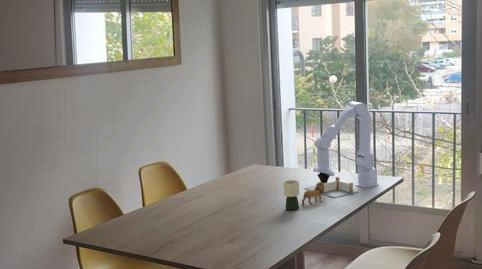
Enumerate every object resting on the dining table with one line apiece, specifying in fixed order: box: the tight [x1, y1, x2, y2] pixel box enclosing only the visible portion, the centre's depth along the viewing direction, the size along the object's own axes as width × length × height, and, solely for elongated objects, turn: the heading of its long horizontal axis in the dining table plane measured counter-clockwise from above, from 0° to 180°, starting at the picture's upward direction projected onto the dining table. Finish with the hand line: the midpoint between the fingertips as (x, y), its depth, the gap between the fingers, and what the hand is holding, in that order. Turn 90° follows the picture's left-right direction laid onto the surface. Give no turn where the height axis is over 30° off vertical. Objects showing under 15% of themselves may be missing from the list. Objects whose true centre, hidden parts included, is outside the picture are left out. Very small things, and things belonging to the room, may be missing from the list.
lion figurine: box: [301, 181, 324, 206], centre depth 287 cm, size 15×5×9 cm, turn 133°
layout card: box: [303, 185, 360, 199], centre depth 308 cm, size 16×24×1 cm, turn 31°
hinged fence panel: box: [323, 180, 337, 192], centre depth 306 cm, size 11×2×5 cm, turn 124°
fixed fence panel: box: [335, 176, 354, 193], centre depth 305 cm, size 12×2×6 cm, turn 31°
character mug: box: [283, 179, 300, 211], centre depth 279 cm, size 11×7×13 cm, turn 20°
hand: (324, 187), depth 306 cm, fingers closed
